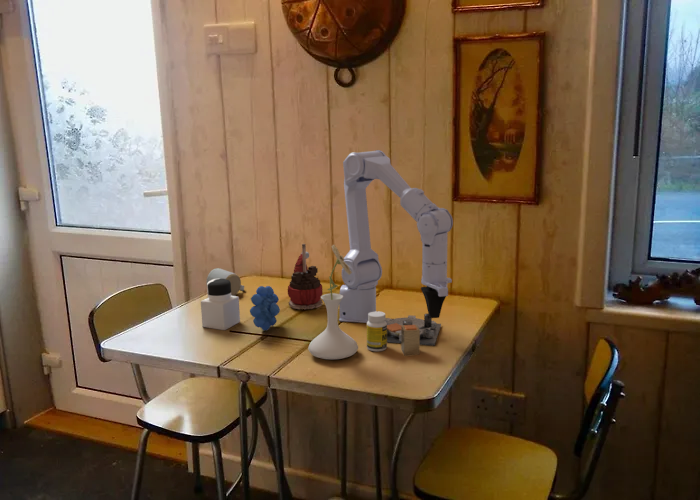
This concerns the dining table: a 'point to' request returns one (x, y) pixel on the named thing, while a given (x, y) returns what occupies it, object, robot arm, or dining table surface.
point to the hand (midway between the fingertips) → (434, 317)
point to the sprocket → (423, 325)
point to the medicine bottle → (220, 306)
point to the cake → (304, 285)
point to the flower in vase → (333, 325)
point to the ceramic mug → (229, 276)
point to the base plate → (423, 340)
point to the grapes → (264, 307)
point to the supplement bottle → (376, 331)
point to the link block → (410, 339)
